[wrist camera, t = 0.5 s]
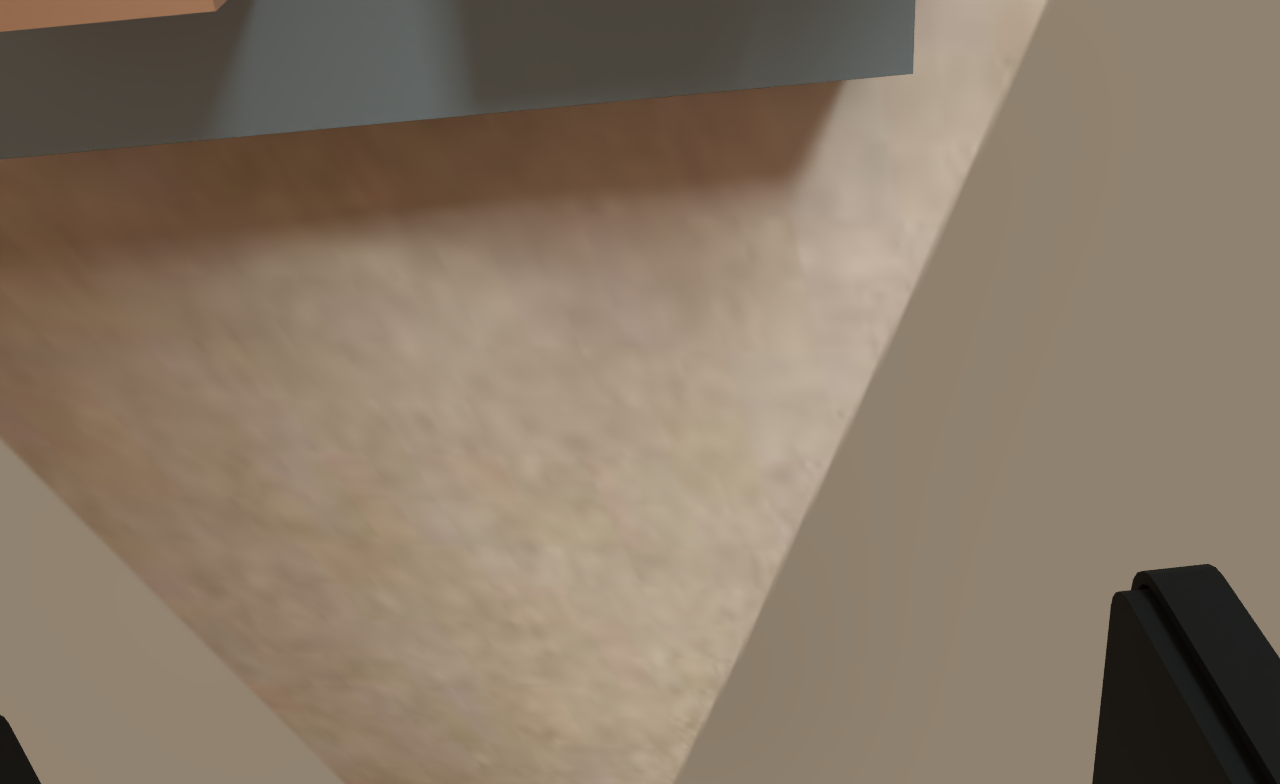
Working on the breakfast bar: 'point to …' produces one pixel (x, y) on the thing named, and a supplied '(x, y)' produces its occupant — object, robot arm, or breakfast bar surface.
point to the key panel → (415, 63)
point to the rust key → (92, 11)
